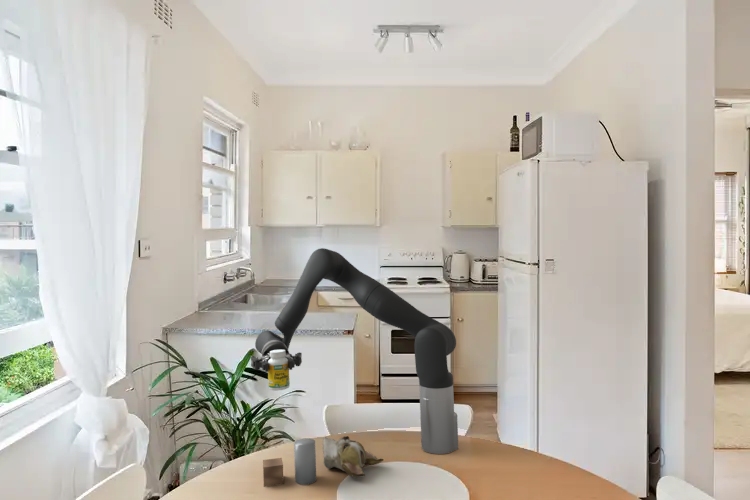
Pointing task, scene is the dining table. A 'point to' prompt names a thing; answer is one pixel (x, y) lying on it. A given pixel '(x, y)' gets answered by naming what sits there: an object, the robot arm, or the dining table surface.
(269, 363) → the supplement bottle
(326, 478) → the dining table surface
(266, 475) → the walnut block
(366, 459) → the ceramic sculpture
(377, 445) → the dining table surface
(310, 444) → the light grey cylinder
